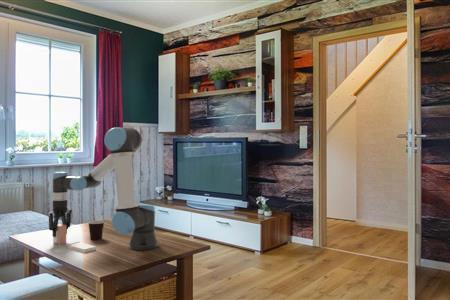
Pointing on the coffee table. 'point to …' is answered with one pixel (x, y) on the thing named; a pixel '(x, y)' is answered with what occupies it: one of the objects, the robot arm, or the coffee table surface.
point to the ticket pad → (81, 247)
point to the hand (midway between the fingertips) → (59, 241)
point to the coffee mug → (96, 230)
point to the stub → (61, 234)
